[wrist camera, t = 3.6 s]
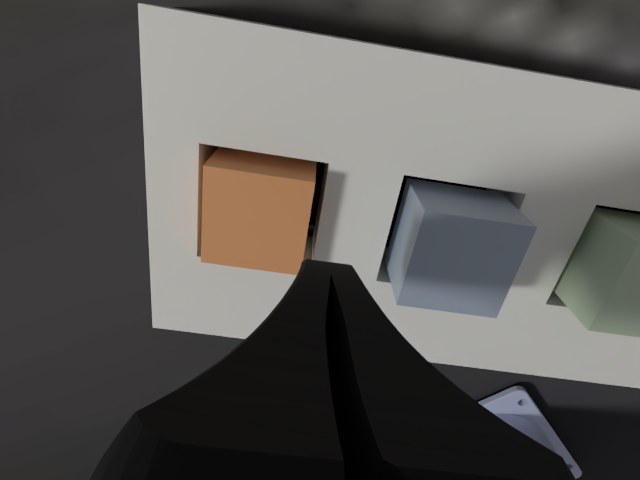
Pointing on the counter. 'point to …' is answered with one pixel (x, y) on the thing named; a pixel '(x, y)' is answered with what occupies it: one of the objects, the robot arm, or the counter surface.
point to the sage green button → (605, 274)
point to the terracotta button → (256, 210)
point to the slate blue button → (456, 248)
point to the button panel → (383, 176)
